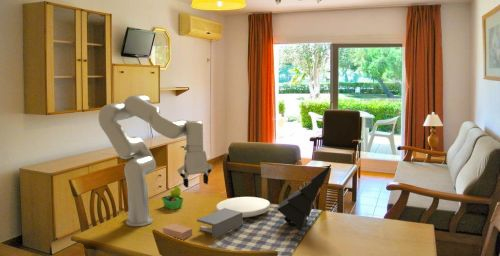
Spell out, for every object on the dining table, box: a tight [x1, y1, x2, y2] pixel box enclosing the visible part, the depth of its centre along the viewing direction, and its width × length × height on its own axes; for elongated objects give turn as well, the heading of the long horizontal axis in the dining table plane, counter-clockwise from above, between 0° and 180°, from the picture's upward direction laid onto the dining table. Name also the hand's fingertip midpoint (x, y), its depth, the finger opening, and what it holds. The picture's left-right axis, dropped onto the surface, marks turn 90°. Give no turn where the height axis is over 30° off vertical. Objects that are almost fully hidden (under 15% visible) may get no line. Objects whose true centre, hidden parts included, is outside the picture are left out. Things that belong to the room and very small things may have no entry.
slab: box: [162, 223, 193, 241], centre depth 191 cm, size 12×6×4 cm, turn 56°
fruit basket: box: [161, 185, 184, 211], centre depth 230 cm, size 11×9×11 cm
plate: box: [215, 196, 271, 218], centre depth 220 cm, size 28×6×27 cm
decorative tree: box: [276, 164, 332, 229], centre depth 199 cm, size 15×15×35 cm
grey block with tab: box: [196, 208, 243, 240], centre depth 197 cm, size 13×19×6 cm
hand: (196, 185), depth 195 cm, fingers open, 9 cm apart
